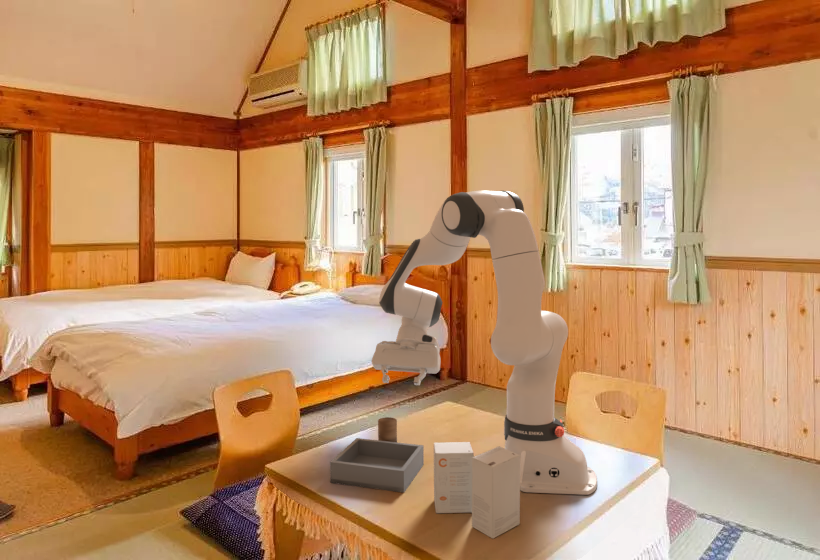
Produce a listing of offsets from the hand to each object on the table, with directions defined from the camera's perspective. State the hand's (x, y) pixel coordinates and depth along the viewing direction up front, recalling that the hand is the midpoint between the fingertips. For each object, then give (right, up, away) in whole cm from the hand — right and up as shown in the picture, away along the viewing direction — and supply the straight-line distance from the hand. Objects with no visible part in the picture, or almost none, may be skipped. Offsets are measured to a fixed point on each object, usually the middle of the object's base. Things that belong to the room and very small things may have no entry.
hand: (400, 383), depth 164 cm
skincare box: (+20, -20, -50) cm, 57 cm away
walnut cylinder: (-3, -16, -10) cm, 19 cm away
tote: (-5, -17, -25) cm, 31 cm away
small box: (+12, -19, -41) cm, 47 cm away
